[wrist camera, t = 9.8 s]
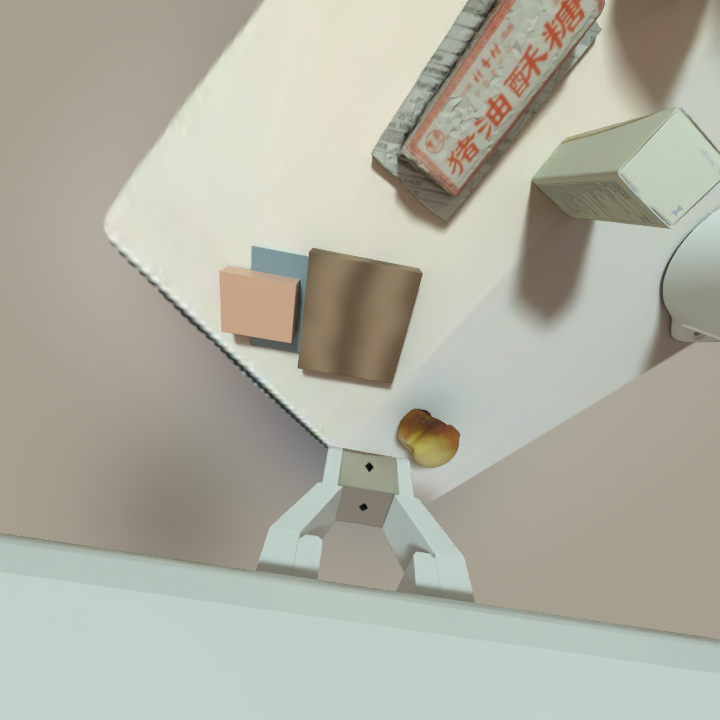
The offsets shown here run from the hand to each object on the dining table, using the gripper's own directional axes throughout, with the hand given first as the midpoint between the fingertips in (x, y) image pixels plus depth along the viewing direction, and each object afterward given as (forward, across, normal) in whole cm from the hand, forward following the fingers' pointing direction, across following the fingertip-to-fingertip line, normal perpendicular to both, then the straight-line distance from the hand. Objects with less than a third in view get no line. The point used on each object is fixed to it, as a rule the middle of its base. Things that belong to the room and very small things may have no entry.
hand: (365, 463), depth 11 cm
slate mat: (+27, +10, +5) cm, 29 cm away
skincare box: (+28, -17, -13) cm, 35 cm away
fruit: (+27, -11, +18) cm, 35 cm away
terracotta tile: (+26, +12, +5) cm, 29 cm away
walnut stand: (+27, +1, +5) cm, 27 cm away
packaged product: (+28, -6, -17) cm, 34 cm away
